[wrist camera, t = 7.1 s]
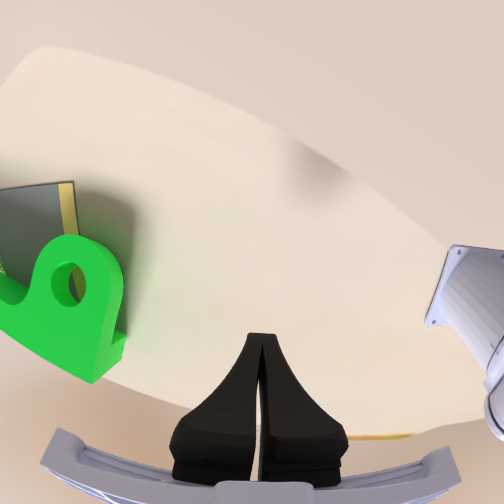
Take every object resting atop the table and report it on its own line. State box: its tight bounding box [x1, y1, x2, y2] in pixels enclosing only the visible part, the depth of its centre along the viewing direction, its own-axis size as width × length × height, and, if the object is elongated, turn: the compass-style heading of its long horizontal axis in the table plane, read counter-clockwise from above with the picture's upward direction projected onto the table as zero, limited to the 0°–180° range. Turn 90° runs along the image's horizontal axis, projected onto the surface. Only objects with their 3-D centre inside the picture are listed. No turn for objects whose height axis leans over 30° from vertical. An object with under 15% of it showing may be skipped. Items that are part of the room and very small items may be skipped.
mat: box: [0, 183, 86, 303], centre depth 20 cm, size 13×14×1 cm
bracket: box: [0, 234, 126, 384], centre depth 18 cm, size 20×10×7 cm
